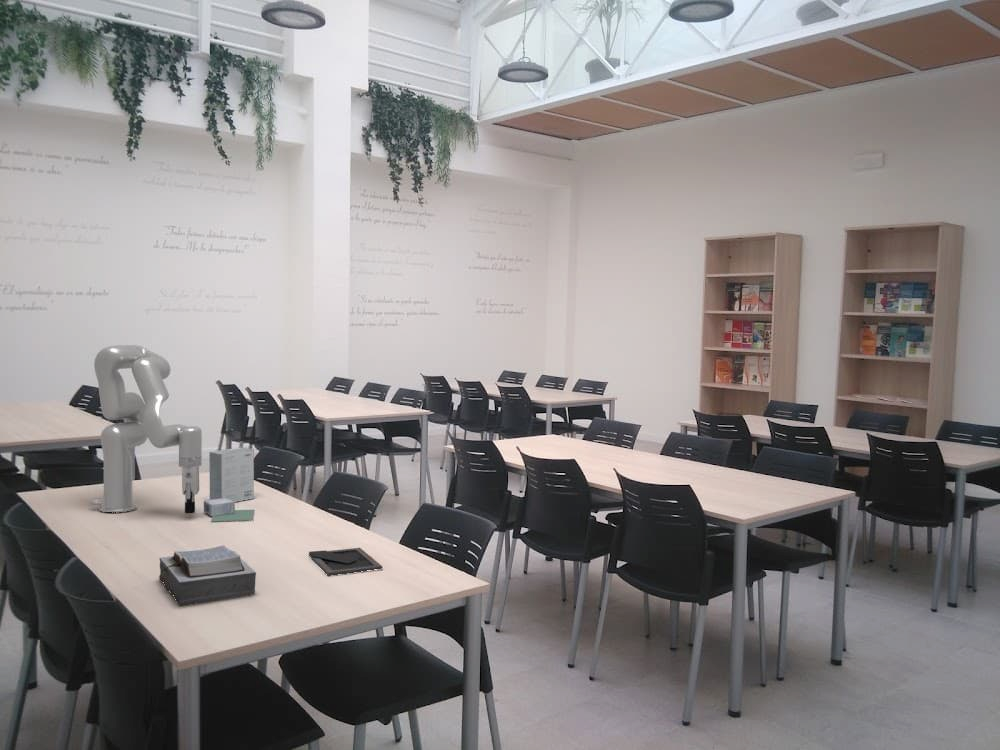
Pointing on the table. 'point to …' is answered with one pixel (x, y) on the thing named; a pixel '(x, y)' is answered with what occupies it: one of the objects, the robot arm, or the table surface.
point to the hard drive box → (232, 474)
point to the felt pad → (235, 516)
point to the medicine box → (219, 507)
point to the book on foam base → (206, 575)
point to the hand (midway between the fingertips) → (189, 512)
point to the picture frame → (344, 561)
